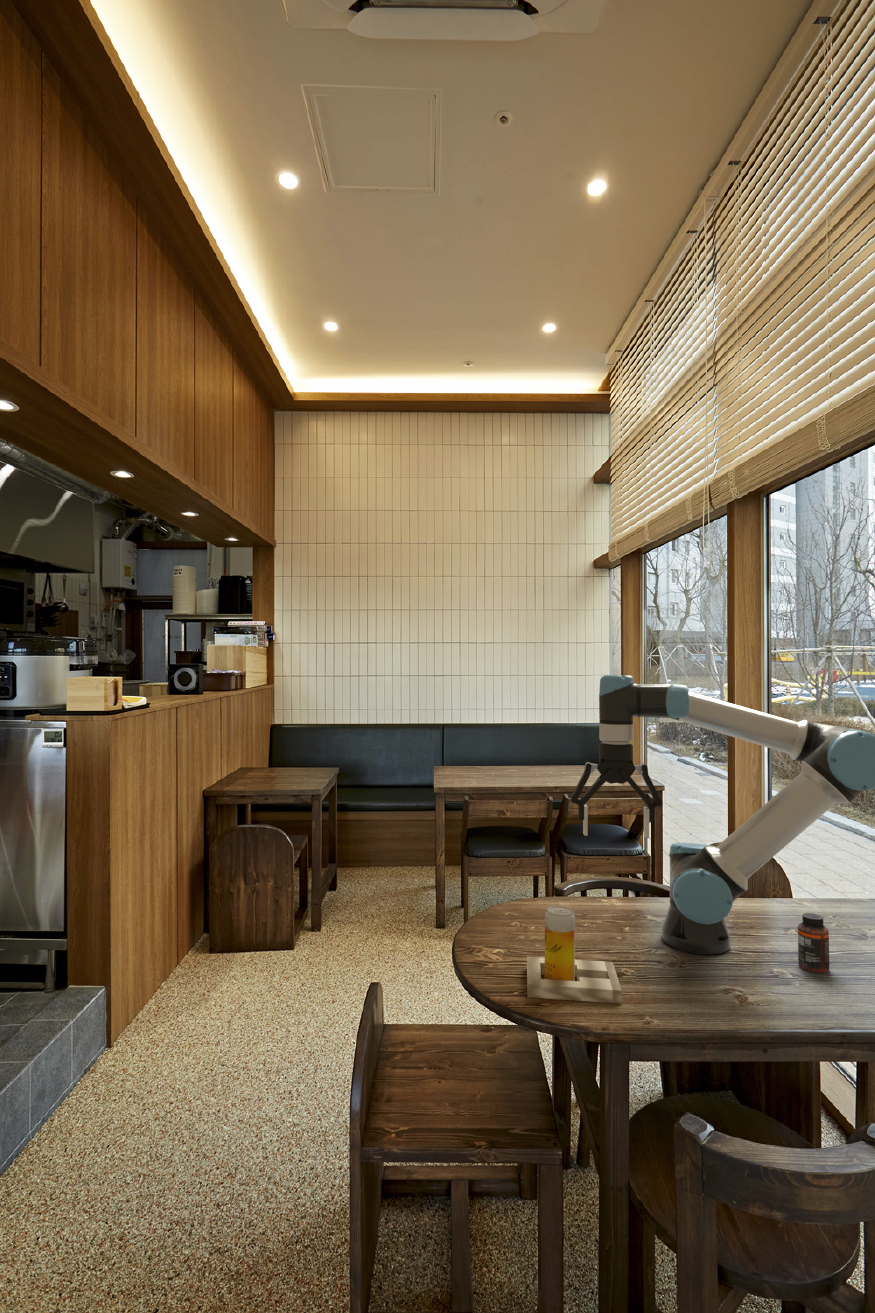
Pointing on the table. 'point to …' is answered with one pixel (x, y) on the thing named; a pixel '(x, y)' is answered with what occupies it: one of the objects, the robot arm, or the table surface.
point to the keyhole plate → (575, 982)
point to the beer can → (560, 943)
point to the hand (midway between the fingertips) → (615, 835)
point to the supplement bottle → (813, 944)
